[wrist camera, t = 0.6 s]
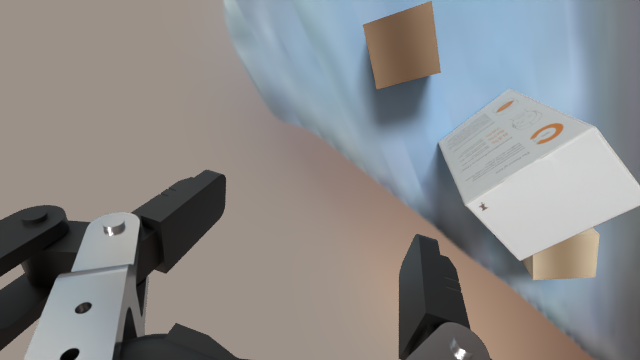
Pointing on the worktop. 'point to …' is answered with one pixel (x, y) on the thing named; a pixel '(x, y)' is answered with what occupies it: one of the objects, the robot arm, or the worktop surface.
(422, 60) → the walnut block
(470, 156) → the small box
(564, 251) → the maple block
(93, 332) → the robot arm
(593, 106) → the worktop surface
